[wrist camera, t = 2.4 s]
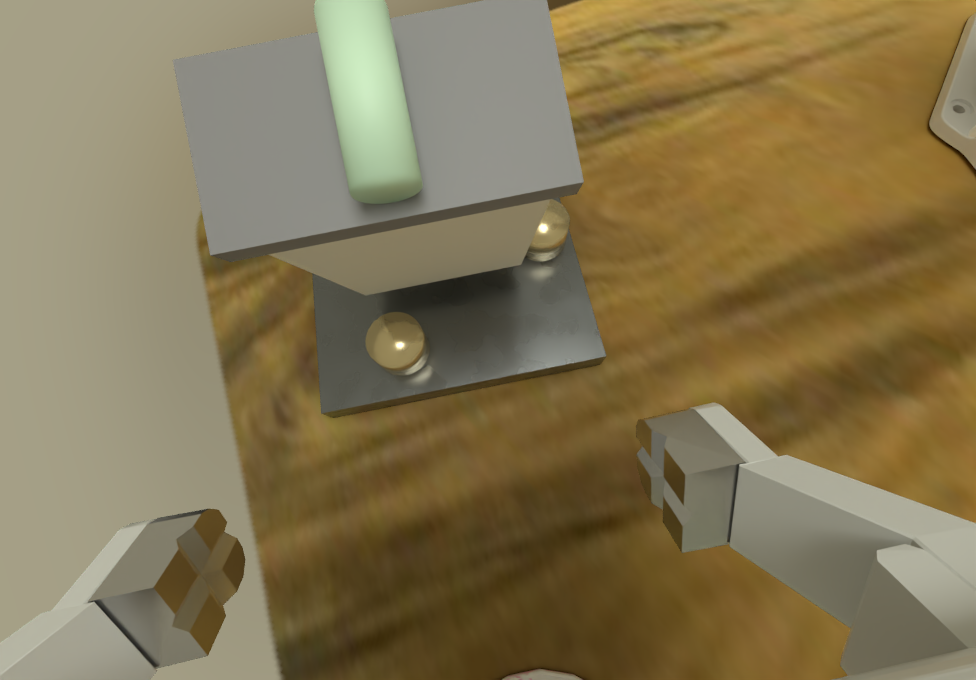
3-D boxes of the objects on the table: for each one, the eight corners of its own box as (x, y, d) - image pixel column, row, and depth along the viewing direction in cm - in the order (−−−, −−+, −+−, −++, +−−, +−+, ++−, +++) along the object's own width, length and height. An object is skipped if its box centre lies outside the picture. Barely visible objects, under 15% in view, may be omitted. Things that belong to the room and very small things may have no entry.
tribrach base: (317, 194, 35) (291, 156, 31) (538, 151, 36) (542, 108, 31) (333, 417, 29) (304, 407, 25) (600, 364, 30) (614, 345, 25)
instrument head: (354, 226, 30) (114, 6, 11) (509, 196, 30) (555, -78, 11) (370, 308, 30) (158, 238, 11) (525, 277, 30) (602, 151, 11)
